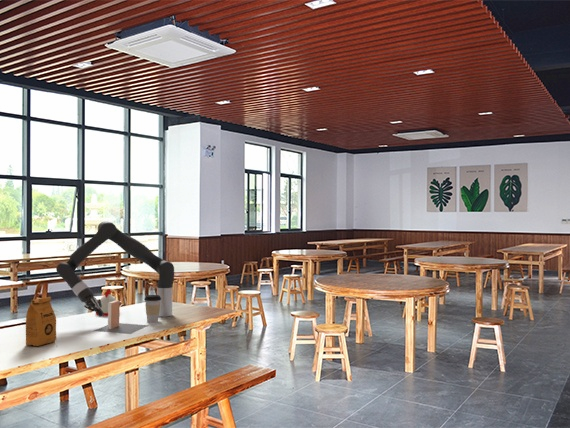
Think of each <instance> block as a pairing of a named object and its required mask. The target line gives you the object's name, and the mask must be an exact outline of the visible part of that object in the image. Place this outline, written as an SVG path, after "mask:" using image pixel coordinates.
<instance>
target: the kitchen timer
mask: <svg viewBox="0 0 570 428" xmlns="http://www.w3.org/2000/svg"><path fill="white" fill-rule="evenodd" d="M111 291H112V290H111V288H107V289H106V292H105V294H104V295H103V296H102V297H100V300H101V305H102V307H101V310H102V311H103V312H104V315H103V316H102V317H106V316H107V317H108V303H109V302H112V301H116V300H117V299H116V298H115V297H114V296H113V295H112V294H111ZM119 313H121V312H120V309H119ZM96 314H97V316H99V315H98V313H97V312H95V315H96Z"/></svg>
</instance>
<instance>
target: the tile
mask: <svg viewBox="0 0 570 428" xmlns="http://www.w3.org/2000/svg"><path fill="white" fill-rule="evenodd" d="M120 302H121V301H120V300H119V299H116V301H112V302H109V303H108V316H107V325H108V329H113V328H115V327H117V326H119V323H120V312H119V310H120Z"/></svg>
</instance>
